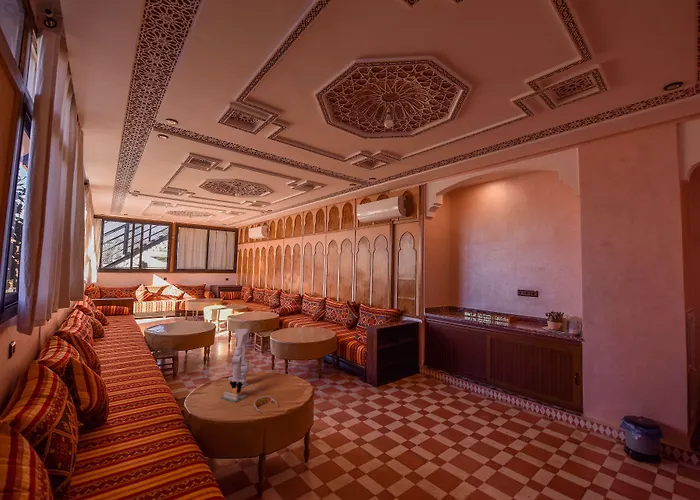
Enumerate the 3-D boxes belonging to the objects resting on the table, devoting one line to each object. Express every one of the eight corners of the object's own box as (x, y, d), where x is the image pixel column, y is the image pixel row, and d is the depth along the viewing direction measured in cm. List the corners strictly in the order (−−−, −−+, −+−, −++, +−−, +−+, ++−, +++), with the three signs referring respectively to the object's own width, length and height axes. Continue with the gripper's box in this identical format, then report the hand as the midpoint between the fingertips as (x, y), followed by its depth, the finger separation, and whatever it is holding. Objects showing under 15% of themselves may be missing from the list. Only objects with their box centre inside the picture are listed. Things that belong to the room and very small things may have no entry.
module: (232, 395, 228) (232, 388, 228) (237, 393, 232) (237, 385, 232) (236, 396, 226) (236, 389, 226) (241, 394, 230) (241, 386, 231)
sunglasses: (269, 400, 223) (270, 394, 222) (280, 411, 212) (281, 404, 211) (250, 407, 213) (251, 399, 213) (260, 418, 202) (261, 411, 202)
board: (220, 398, 225) (220, 393, 225) (232, 393, 235) (232, 387, 235) (235, 402, 219) (235, 397, 219) (247, 396, 229) (247, 391, 229)
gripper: (225, 372, 229) (224, 391, 229) (240, 376, 223) (239, 395, 222) (232, 369, 235) (232, 388, 235) (247, 372, 229) (247, 392, 228)
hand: (236, 391), depth 229 cm, fingers closed on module, 4 cm apart
